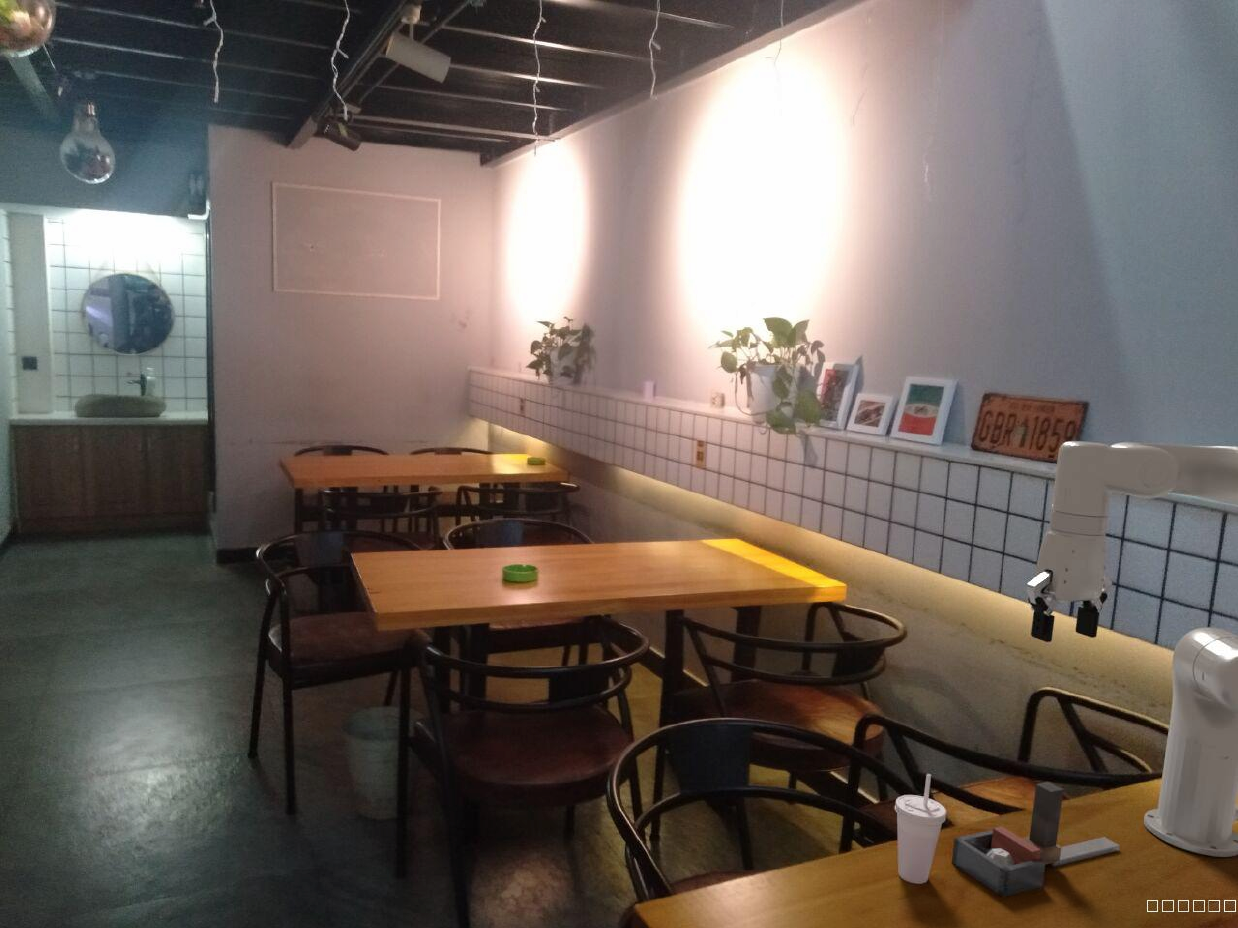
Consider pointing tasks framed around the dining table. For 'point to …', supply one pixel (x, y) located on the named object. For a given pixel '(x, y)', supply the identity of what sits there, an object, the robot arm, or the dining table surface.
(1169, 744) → the robot arm
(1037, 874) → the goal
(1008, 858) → the game die
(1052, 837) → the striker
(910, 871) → the smoothie
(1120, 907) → the dining table surface
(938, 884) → the dining table surface
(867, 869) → the dining table surface
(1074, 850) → the rail
